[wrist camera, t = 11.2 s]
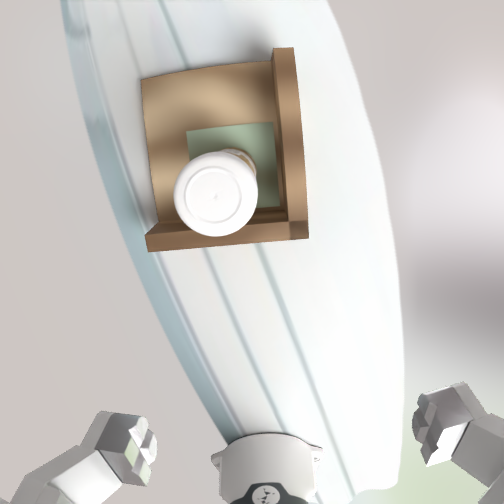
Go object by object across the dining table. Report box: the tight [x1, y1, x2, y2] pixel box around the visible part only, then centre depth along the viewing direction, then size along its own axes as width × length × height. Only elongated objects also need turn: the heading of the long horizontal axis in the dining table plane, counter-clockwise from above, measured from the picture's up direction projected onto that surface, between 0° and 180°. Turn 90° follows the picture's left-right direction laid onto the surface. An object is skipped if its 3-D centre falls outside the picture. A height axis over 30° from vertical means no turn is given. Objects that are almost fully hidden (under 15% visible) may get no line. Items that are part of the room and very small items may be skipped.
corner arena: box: [141, 47, 309, 252], centre depth 27 cm, size 16×14×5 cm
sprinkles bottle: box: [173, 147, 258, 236], centre depth 23 cm, size 5×5×14 cm
